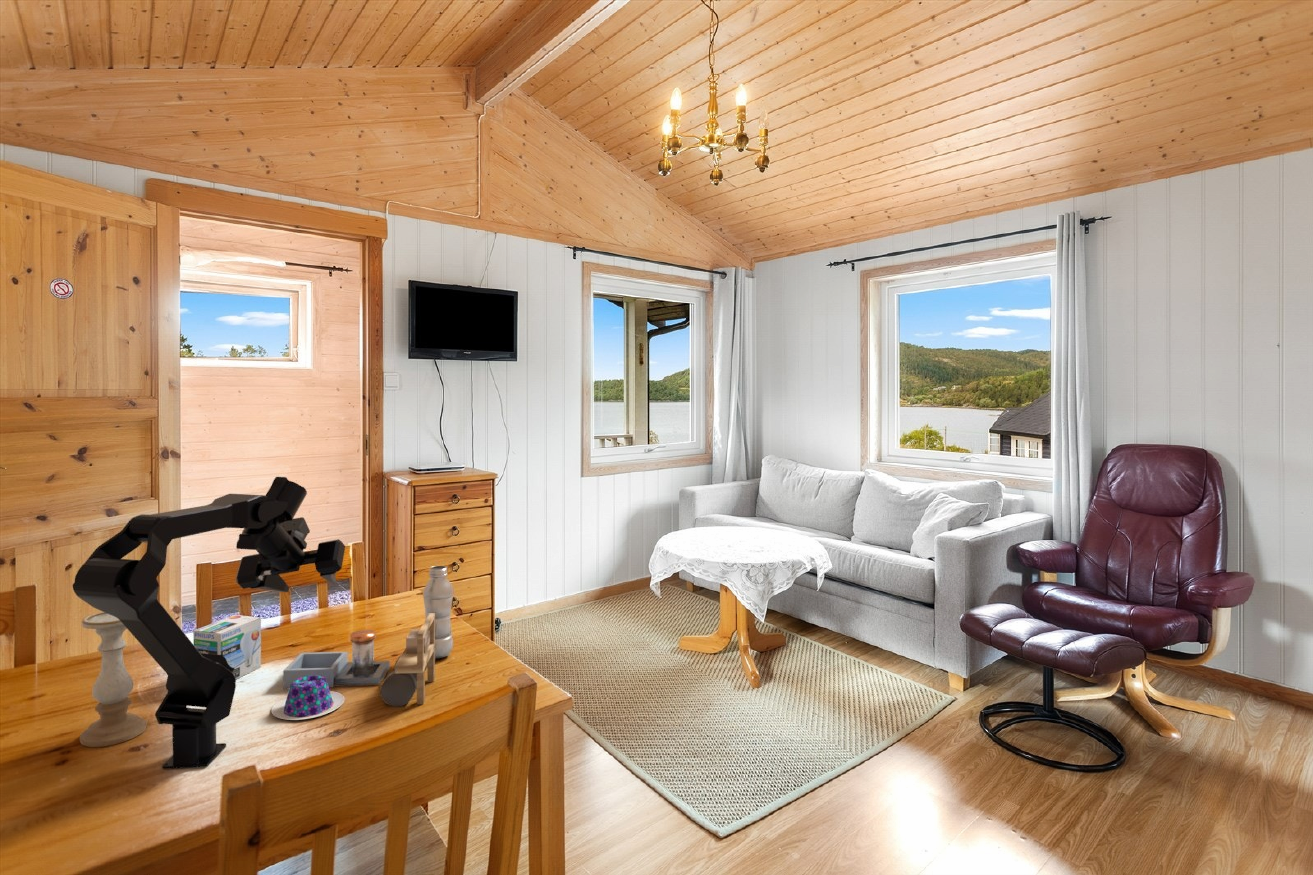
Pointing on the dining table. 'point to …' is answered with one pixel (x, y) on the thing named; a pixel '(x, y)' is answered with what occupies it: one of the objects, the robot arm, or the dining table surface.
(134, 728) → the candle holder
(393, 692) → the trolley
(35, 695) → the dining table surface
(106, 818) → the dining table surface
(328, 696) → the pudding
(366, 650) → the grey brown-topped cylinder
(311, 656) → the tray
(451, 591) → the plastic bottle
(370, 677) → the collar
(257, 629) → the light bulb box
